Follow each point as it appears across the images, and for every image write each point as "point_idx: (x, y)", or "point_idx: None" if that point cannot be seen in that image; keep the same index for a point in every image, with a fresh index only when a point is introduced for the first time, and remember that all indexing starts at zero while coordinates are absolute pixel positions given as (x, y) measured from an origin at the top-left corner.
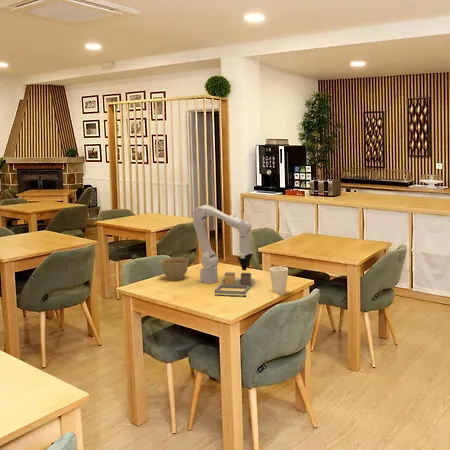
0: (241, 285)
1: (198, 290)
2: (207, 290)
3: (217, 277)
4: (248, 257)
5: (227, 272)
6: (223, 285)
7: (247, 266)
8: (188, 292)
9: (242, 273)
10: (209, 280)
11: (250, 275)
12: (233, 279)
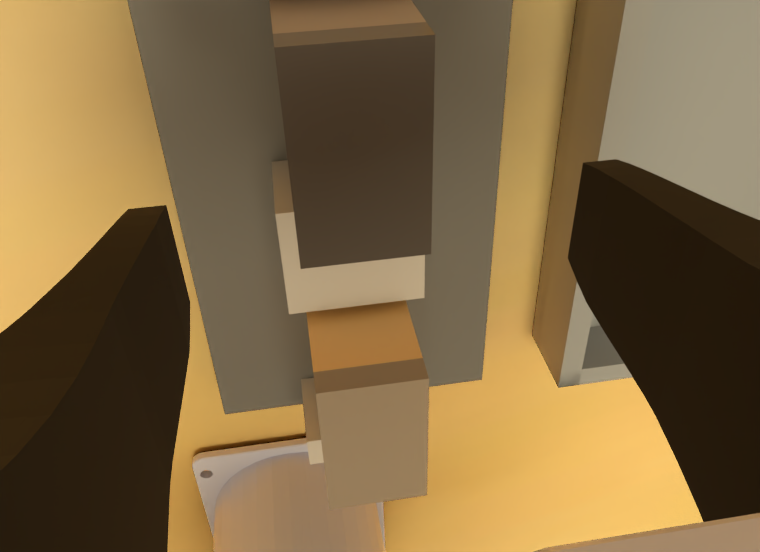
0: (621, 86)
1: (553, 497)
2: (552, 437)
3: (288, 521)
4: (101, 483)
5: (345, 486)
6: (582, 341)
7: (173, 258)
8: (620, 532)
9: (373, 237)
10: (382, 540)
11: (354, 24)
12: (406, 308)
